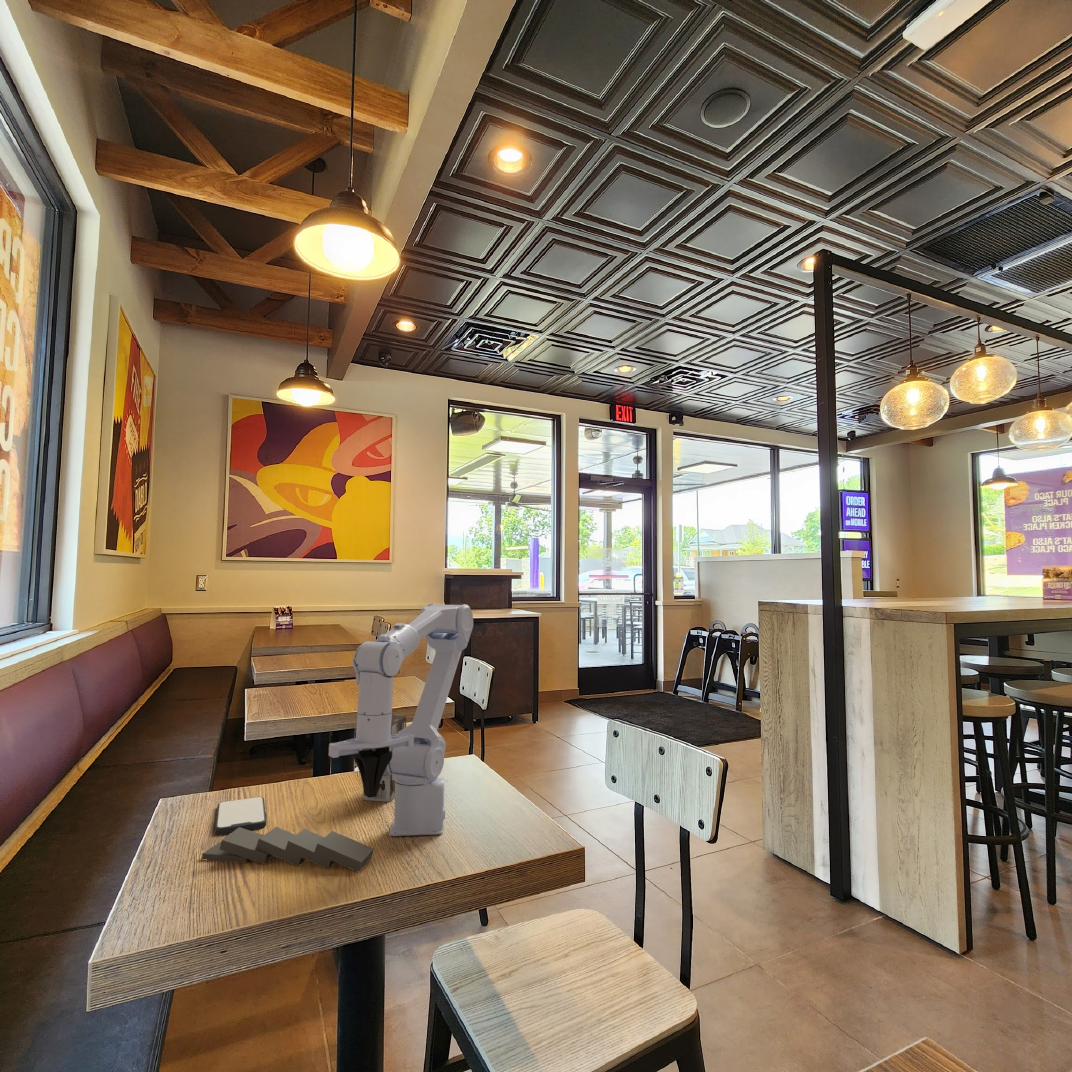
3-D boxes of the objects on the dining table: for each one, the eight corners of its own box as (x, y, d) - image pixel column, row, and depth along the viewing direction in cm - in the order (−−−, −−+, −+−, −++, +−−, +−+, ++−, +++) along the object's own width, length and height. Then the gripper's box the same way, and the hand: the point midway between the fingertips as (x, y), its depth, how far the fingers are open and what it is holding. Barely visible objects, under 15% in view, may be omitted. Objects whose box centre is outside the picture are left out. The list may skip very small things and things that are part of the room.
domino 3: (345, 846, 101) (304, 828, 103) (331, 859, 96) (288, 840, 98) (342, 855, 101) (301, 837, 103) (327, 869, 96) (285, 850, 98)
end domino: (264, 844, 103) (222, 840, 104) (246, 857, 98) (202, 853, 99) (263, 853, 103) (221, 850, 104) (245, 867, 98) (201, 863, 99)
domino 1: (281, 841, 103) (239, 827, 103) (266, 854, 98) (222, 839, 98) (279, 850, 103) (236, 836, 103) (264, 864, 98) (219, 849, 98)
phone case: (216, 810, 123) (213, 838, 108) (217, 802, 123) (214, 829, 108) (264, 803, 126) (267, 830, 112) (264, 795, 127) (267, 821, 112)
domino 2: (316, 844, 102) (276, 826, 104) (301, 857, 97) (258, 838, 99) (313, 853, 102) (273, 835, 104) (297, 866, 97) (255, 847, 99)
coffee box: (378, 786, 136) (380, 713, 137) (405, 787, 135) (407, 715, 136) (361, 800, 127) (363, 723, 128) (390, 802, 126) (392, 724, 127)
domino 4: (374, 848, 100) (332, 830, 102) (361, 862, 96) (317, 843, 97) (371, 857, 100) (329, 839, 102) (358, 872, 95) (314, 852, 97)
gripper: (402, 705, 110) (398, 782, 108) (324, 713, 101) (318, 797, 99) (421, 711, 104) (417, 792, 103) (340, 719, 95) (335, 808, 94)
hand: (370, 795), depth 101 cm, fingers closed
